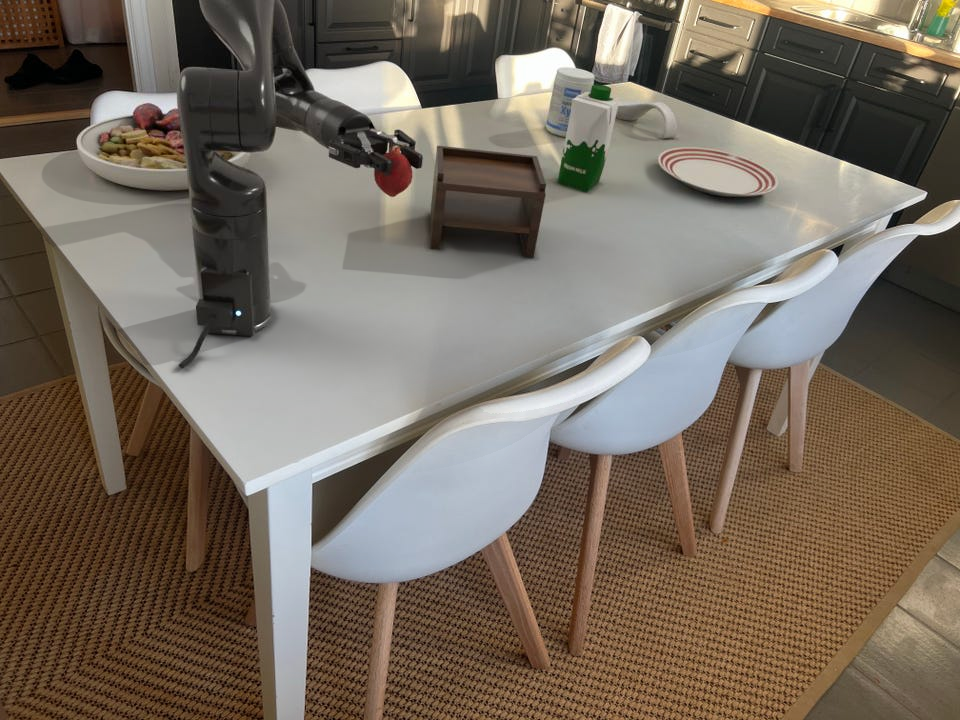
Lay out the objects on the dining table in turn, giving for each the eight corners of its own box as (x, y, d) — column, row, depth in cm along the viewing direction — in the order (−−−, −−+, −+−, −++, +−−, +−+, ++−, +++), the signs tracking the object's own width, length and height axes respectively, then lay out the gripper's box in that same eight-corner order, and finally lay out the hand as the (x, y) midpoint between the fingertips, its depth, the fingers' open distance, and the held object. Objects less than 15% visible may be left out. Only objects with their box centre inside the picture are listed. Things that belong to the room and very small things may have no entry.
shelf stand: (533, 258, 131) (547, 186, 124) (430, 248, 129) (437, 175, 122) (525, 223, 143) (537, 155, 135) (430, 214, 140) (436, 145, 133)
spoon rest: (594, 111, 209) (600, 84, 205) (625, 108, 216) (631, 83, 211) (654, 141, 194) (662, 113, 190) (685, 137, 200) (693, 110, 196)
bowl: (277, 185, 142) (276, 144, 138) (107, 208, 126) (99, 162, 121) (218, 131, 161) (215, 94, 156) (63, 145, 144) (55, 104, 140)
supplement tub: (558, 139, 185) (570, 78, 177) (538, 126, 192) (548, 66, 184) (590, 137, 190) (603, 77, 181) (569, 124, 196) (581, 66, 188)
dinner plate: (728, 215, 159) (733, 200, 157) (631, 168, 175) (634, 154, 173) (796, 194, 175) (801, 181, 173) (701, 153, 191) (705, 140, 189)
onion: (404, 207, 114) (408, 156, 110) (367, 199, 115) (370, 148, 110) (414, 193, 119) (419, 144, 114) (379, 186, 119) (382, 136, 115)
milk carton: (603, 183, 165) (625, 90, 154) (589, 195, 158) (611, 99, 147) (567, 172, 168) (586, 80, 156) (551, 183, 161) (569, 88, 150)
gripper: (300, 109, 115) (367, 147, 105) (376, 100, 123) (444, 134, 114) (300, 157, 119) (364, 197, 110) (374, 145, 128) (439, 181, 118)
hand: (405, 165), depth 112 cm, fingers closed on onion, 5 cm apart
